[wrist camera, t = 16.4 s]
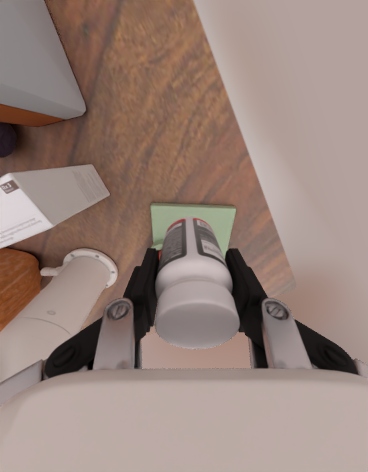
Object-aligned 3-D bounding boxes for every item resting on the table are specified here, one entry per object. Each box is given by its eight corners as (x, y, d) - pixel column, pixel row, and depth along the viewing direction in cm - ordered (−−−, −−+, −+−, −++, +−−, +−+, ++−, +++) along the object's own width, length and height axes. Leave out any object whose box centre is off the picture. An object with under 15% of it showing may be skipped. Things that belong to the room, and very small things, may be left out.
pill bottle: (167, 259, 16) (154, 355, 8) (161, 217, 13) (134, 299, 6) (213, 256, 15) (241, 352, 8) (215, 213, 13) (255, 293, 6)
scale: (152, 258, 36) (150, 268, 33) (148, 202, 29) (143, 208, 26) (222, 260, 36) (225, 270, 33) (233, 205, 30) (239, 212, 27)
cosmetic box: (77, 208, 30) (-4, 254, 17) (54, 178, 27) (-63, 205, 14) (113, 193, 28) (55, 231, 16) (93, 160, 26) (1, 172, 13)
